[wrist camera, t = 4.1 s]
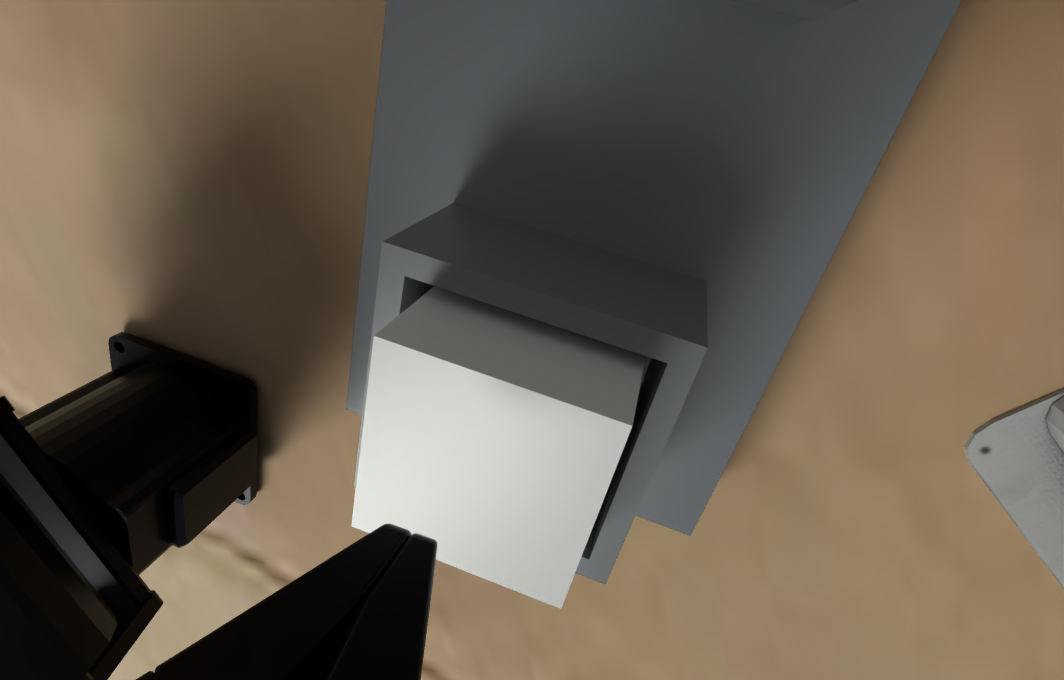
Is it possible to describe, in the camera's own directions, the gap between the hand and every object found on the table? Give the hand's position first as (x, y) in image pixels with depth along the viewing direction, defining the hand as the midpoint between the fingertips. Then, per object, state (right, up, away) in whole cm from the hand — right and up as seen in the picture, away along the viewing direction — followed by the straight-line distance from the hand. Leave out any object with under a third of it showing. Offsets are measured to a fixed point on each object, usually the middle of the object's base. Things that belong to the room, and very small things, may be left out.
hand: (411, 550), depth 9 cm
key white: (+1, +2, +5) cm, 6 cm away
